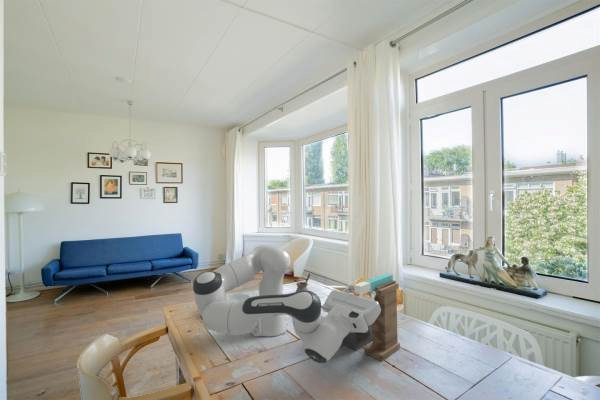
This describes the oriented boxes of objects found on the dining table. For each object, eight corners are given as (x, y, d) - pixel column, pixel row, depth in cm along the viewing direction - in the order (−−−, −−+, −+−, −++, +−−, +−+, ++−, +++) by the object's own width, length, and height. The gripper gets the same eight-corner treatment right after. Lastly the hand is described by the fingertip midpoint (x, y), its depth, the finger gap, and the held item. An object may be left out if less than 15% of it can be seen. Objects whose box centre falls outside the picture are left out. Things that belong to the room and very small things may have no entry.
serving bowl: (258, 308, 158) (258, 296, 158) (231, 322, 140) (231, 308, 140) (232, 302, 169) (232, 290, 169) (204, 314, 151) (203, 301, 151)
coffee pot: (308, 310, 153) (308, 283, 153) (289, 308, 157) (288, 281, 157) (319, 298, 173) (319, 273, 173) (302, 296, 177) (301, 272, 177)
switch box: (328, 339, 121) (327, 302, 121) (347, 329, 130) (347, 294, 130) (355, 351, 110) (354, 311, 110) (374, 339, 119) (373, 302, 119)
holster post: (364, 352, 109) (362, 284, 109) (382, 341, 118) (380, 277, 118) (382, 361, 103) (380, 288, 104) (400, 348, 112) (398, 281, 112)
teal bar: (354, 293, 102) (353, 284, 102) (386, 280, 116) (386, 273, 116) (361, 295, 99) (360, 286, 99) (392, 282, 114) (392, 274, 114)
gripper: (323, 315, 103) (343, 289, 111) (370, 334, 88) (390, 302, 96) (316, 303, 101) (337, 277, 109) (364, 319, 86) (384, 288, 94)
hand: (362, 289), depth 102 cm, fingers open, 8 cm apart
